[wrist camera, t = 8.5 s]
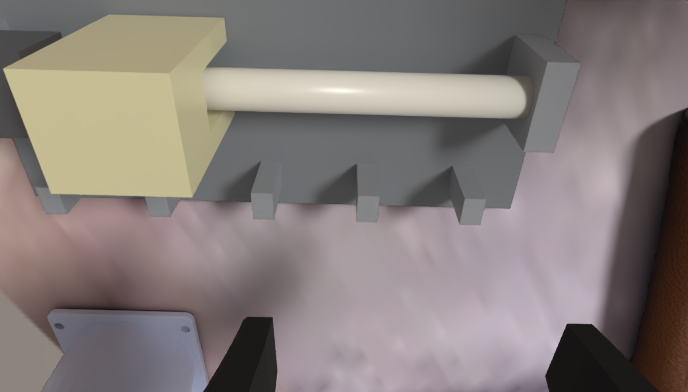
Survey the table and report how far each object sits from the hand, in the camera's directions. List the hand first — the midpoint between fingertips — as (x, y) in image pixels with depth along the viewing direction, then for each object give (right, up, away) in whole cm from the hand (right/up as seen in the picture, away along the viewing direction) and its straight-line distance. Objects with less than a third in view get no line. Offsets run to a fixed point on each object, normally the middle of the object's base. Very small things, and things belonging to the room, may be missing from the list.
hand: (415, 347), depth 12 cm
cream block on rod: (-8, +9, +6) cm, 13 cm away
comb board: (-5, +9, +6) cm, 12 cm away
